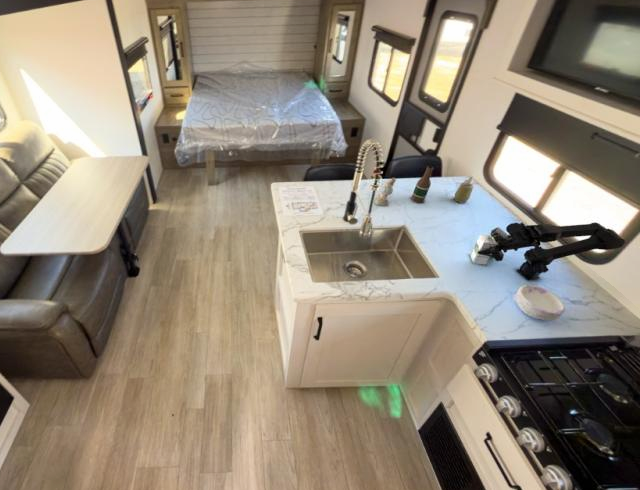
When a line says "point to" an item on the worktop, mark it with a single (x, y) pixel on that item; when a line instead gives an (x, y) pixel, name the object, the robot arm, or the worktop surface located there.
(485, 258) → the syrup box
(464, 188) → the squeeze bottle
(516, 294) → the paper bowls
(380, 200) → the figurine
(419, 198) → the beer bottle
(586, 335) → the worktop surface
